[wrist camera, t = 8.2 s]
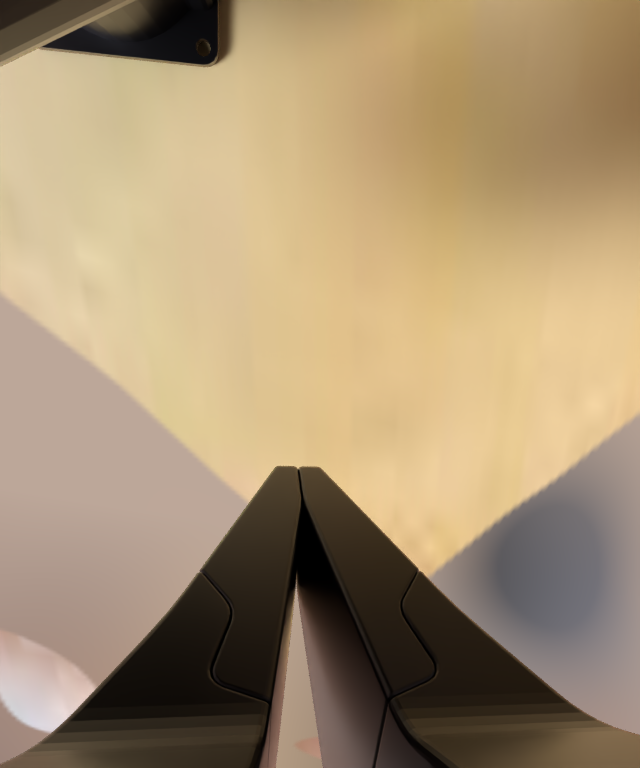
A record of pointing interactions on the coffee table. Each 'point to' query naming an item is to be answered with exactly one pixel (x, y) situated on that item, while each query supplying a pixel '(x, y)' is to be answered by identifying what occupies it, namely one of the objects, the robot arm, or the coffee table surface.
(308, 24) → the coffee table surface
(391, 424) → the coffee table surface
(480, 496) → the coffee table surface
